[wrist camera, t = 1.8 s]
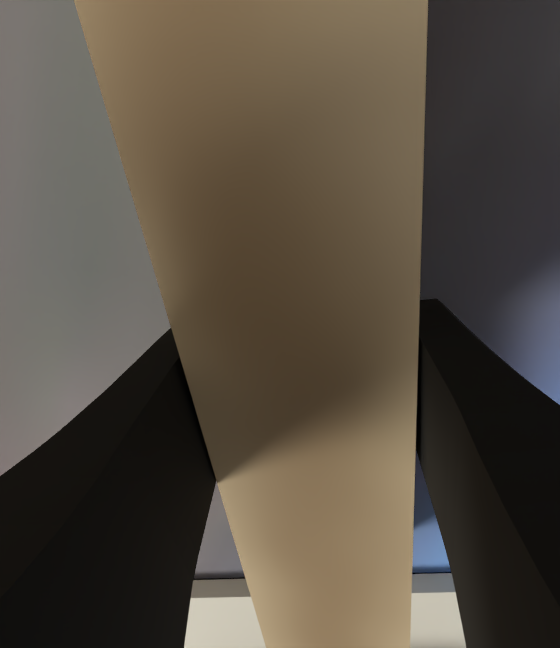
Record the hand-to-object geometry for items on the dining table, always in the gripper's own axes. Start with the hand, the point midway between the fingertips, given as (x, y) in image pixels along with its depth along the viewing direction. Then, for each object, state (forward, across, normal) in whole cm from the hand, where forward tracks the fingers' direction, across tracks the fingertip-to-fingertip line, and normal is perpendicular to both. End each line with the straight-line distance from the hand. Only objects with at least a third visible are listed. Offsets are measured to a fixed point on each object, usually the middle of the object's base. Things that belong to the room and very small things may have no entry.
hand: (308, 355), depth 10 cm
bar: (+2, 0, 0) cm, 2 cm away
